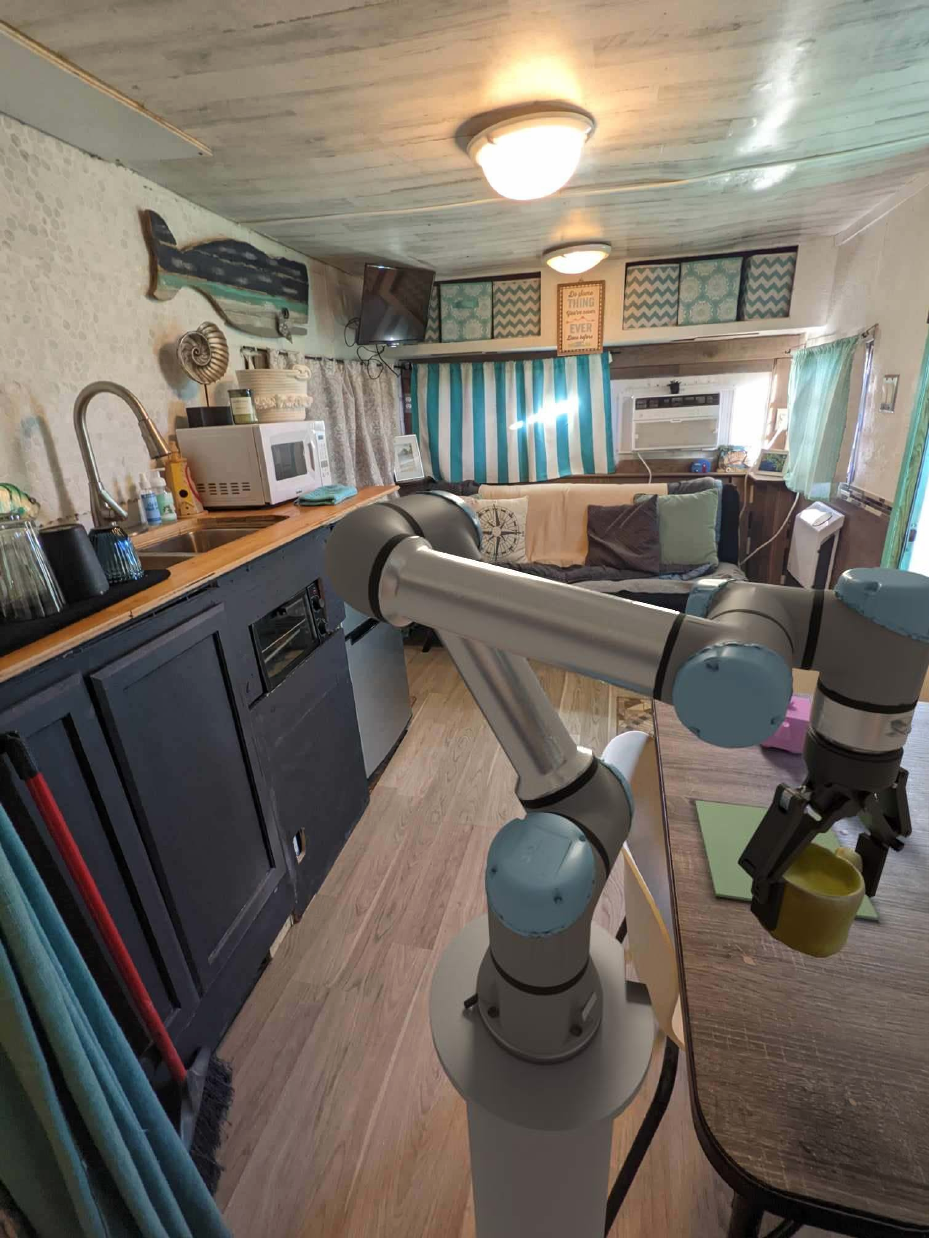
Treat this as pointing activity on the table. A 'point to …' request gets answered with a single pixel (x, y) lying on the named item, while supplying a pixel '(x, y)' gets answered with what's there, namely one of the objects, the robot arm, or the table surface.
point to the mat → (728, 839)
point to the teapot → (792, 727)
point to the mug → (820, 900)
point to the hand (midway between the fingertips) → (812, 903)
